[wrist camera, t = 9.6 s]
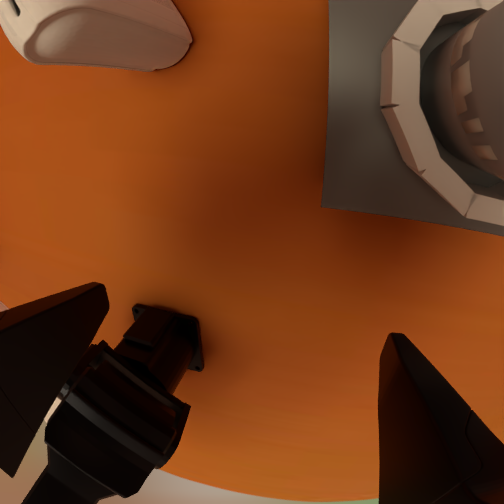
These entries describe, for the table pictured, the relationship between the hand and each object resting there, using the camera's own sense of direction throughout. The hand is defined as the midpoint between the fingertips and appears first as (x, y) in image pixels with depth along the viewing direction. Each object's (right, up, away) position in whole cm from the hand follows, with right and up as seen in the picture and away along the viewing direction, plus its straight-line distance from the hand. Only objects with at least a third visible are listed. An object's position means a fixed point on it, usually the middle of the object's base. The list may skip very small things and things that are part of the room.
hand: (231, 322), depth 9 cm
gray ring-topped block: (+12, +11, +5) cm, 17 cm away
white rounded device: (-7, +18, +6) cm, 21 cm away
